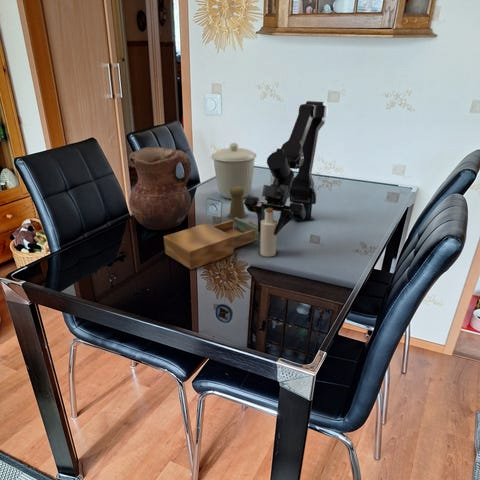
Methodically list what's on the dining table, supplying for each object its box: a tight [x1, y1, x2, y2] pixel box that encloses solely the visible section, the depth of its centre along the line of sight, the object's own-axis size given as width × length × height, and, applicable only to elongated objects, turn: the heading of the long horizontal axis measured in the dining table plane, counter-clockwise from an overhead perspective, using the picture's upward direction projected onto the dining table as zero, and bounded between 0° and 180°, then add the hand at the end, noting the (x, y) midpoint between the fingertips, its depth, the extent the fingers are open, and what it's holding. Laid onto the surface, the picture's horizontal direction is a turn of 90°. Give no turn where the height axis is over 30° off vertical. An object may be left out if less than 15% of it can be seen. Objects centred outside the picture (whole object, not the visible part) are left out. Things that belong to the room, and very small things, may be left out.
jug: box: [128, 146, 192, 231], centre depth 151 cm, size 22×21×25 cm
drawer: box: [212, 217, 261, 249], centre depth 143 cm, size 20×13×4 cm
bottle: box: [259, 208, 278, 258], centre depth 133 cm, size 5×5×14 cm
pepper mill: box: [229, 186, 246, 220], centre depth 161 cm, size 6×6×11 cm
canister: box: [211, 142, 257, 200], centre depth 177 cm, size 18×18×21 cm
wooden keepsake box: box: [163, 223, 235, 270], centre depth 135 cm, size 16×14×6 cm
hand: (266, 233), depth 132 cm, fingers closed on bottle, 5 cm apart
